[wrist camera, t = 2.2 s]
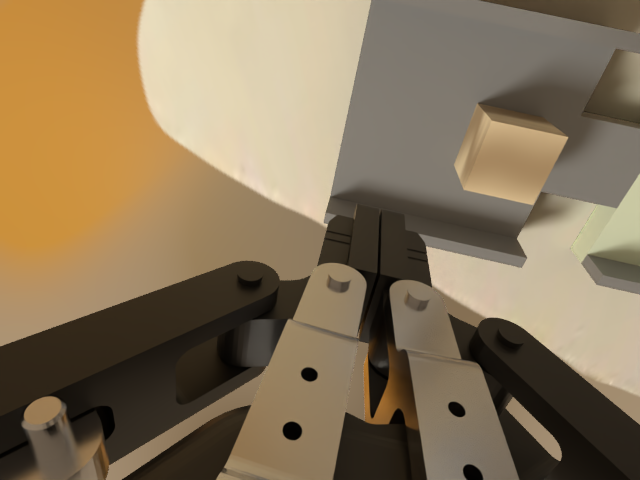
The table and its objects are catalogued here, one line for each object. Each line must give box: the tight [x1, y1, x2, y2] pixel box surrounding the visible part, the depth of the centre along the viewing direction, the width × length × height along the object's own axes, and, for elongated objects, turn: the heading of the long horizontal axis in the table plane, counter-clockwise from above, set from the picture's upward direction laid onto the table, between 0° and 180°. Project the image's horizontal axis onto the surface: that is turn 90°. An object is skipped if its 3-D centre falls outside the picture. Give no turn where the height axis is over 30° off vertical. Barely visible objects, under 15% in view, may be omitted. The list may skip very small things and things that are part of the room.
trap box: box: [324, 0, 640, 294], centre depth 25 cm, size 14×26×4 cm, turn 80°
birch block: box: [454, 103, 568, 205], centre depth 23 cm, size 4×4×4 cm
